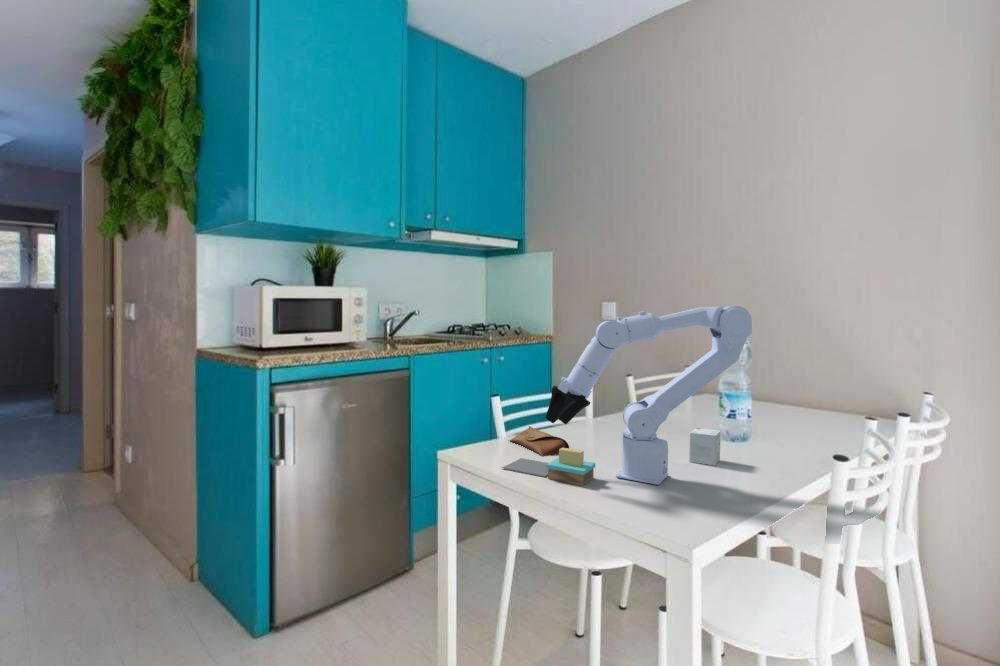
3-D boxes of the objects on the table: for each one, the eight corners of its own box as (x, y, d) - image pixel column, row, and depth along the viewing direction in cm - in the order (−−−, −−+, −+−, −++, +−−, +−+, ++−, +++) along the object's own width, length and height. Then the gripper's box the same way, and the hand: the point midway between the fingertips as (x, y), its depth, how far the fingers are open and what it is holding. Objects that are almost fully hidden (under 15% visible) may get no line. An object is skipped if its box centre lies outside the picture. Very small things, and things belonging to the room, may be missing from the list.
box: (593, 477, 116) (593, 466, 116) (582, 485, 111) (582, 474, 110) (559, 471, 120) (560, 461, 120) (548, 478, 115) (548, 467, 115)
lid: (595, 466, 116) (595, 449, 115) (583, 475, 110) (583, 456, 110) (559, 460, 120) (559, 443, 120) (546, 468, 115) (546, 450, 114)
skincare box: (715, 466, 125) (716, 435, 124) (688, 462, 128) (689, 432, 127) (720, 460, 130) (721, 430, 129) (694, 456, 133) (695, 427, 133)
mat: (562, 466, 123) (562, 465, 123) (545, 477, 116) (545, 476, 116) (521, 459, 129) (521, 458, 129) (501, 468, 121) (501, 467, 121)
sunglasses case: (505, 440, 146) (515, 418, 148) (523, 450, 150) (533, 429, 151) (542, 457, 131) (554, 432, 132) (562, 467, 134) (573, 443, 136)
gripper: (584, 364, 125) (554, 412, 126) (561, 355, 113) (528, 409, 114) (609, 380, 122) (578, 429, 123) (588, 372, 109) (554, 428, 110)
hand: (556, 421), depth 118 cm, fingers open, 7 cm apart
